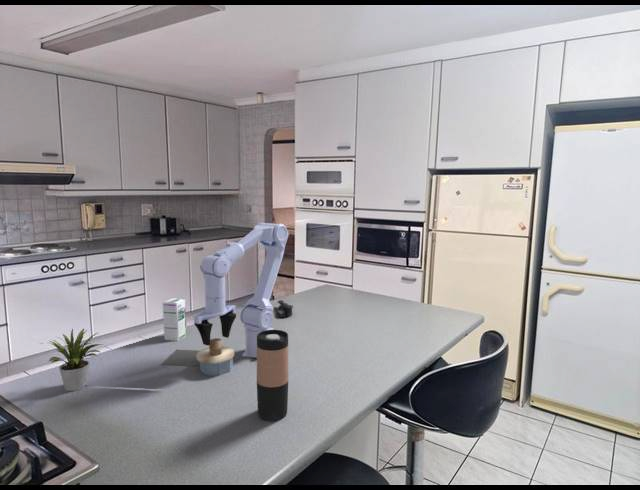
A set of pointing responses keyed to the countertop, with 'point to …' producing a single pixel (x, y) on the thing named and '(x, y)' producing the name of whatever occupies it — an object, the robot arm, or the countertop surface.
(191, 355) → the mat
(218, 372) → the bowl
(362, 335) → the countertop surface
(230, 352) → the lid
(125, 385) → the countertop surface
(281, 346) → the travel mug
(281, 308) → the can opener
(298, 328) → the countertop surface
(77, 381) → the house plant
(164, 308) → the syrup box
